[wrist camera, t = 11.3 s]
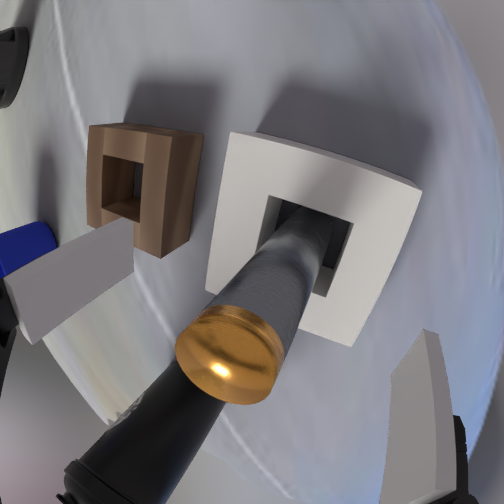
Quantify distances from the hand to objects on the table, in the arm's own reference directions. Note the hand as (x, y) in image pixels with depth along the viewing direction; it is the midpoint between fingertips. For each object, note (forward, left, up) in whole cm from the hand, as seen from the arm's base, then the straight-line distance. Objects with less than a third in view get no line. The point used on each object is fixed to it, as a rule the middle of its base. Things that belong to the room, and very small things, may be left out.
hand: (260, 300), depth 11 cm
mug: (-36, -15, -10) cm, 40 cm away
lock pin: (0, 0, -10) cm, 10 cm away
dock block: (0, 0, -10) cm, 10 cm away
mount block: (-14, 0, -10) cm, 17 cm away
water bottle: (-7, -24, -10) cm, 27 cm away
